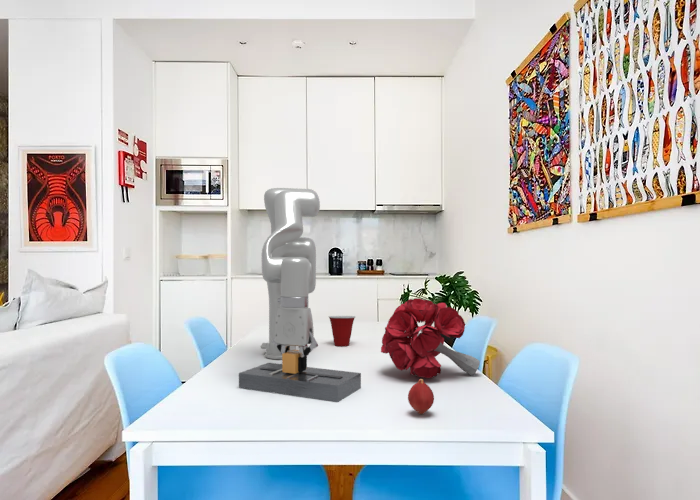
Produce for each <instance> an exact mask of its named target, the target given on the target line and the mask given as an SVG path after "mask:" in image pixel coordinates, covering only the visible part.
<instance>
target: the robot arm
mask: <svg viewBox="0 0 700 500" xmlns="http://www.w3.org/2000/svg"><path fill="white" fill-rule="evenodd" d="M319 197H320V196H319V195H318V193H317V192H316V191H315V190H314V189H312V188H311V189H310V188H293V187H290V188H289V187H273V188H269V189H267V190H265V192H264V195H263V200H264V207H265V211H266V214H267V217H268V219H269V223H270V234H269V236H268V237H267V238H266V240H265V241H264V243H263V246H262V248H261V274H262V278H263V280H264V281H265V282H266V285H267V291H268V292H267V293H268V309H269V310H268V317H269V318H268V342H262V344H261V345H260V349H262V350H266V351H265V352H264V357H265V358H266V359H271V360H282V354H283V353H286V352H287V351H288V350H297V347H298V350H299V353H300V357H298V371H299V372H302V371H305V370H306V367H308V361H307V360H308V356H309V354H310V353H311V352H312V351H314V349H316V348H317V347H318V346H319V344H318V342H317V340H316V338H315V336H314V321H313V315H312V310H311V307H309V295H310V294H312V293H314V291H315V290H316V286H317V285H316V284H317V280H316V279H317V250H316V243H315V241H314V240H313V239H312V238H310V237H304V236H303V237H302V235H303V233H304V223H303V217H306V218H307V217H308V218H309V217H311V218H315V217H317V216H318V215H319V213H320V209H321V204H320V203H321V201H320V198H319ZM308 345H309V346H308Z"/></svg>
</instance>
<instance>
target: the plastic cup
mask: <svg viewBox="0 0 700 500" xmlns="http://www.w3.org/2000/svg"><path fill="white" fill-rule="evenodd" d="M328 318H329V321H330V325H331V332H332V337H333V345H334V346H335V347H349V345H350V343H351V342H350V341H351V336H352V331H353V325H354V321H355V318H356V316H355V315H354V316H353V315H329V316H328Z"/></svg>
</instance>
